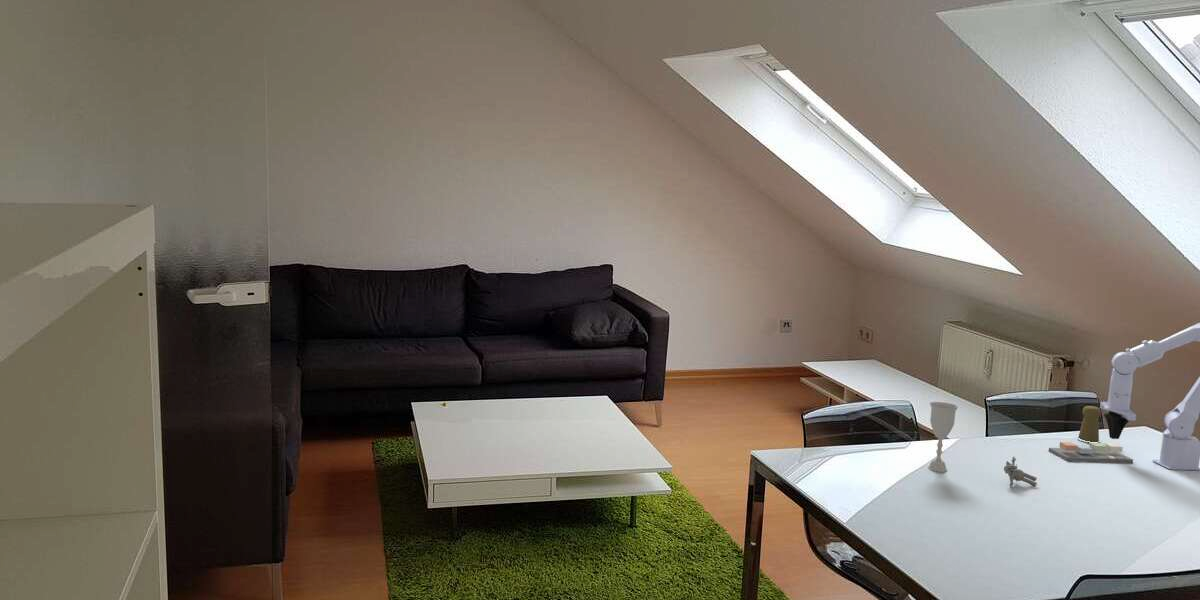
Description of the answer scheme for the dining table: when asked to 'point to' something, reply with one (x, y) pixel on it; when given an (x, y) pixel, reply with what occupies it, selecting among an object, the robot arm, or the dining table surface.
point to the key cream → (1113, 447)
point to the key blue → (1084, 449)
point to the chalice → (941, 429)
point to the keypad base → (1091, 456)
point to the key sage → (1098, 447)
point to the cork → (1090, 424)
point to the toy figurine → (1018, 474)
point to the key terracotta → (1068, 446)
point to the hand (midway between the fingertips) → (1114, 438)
